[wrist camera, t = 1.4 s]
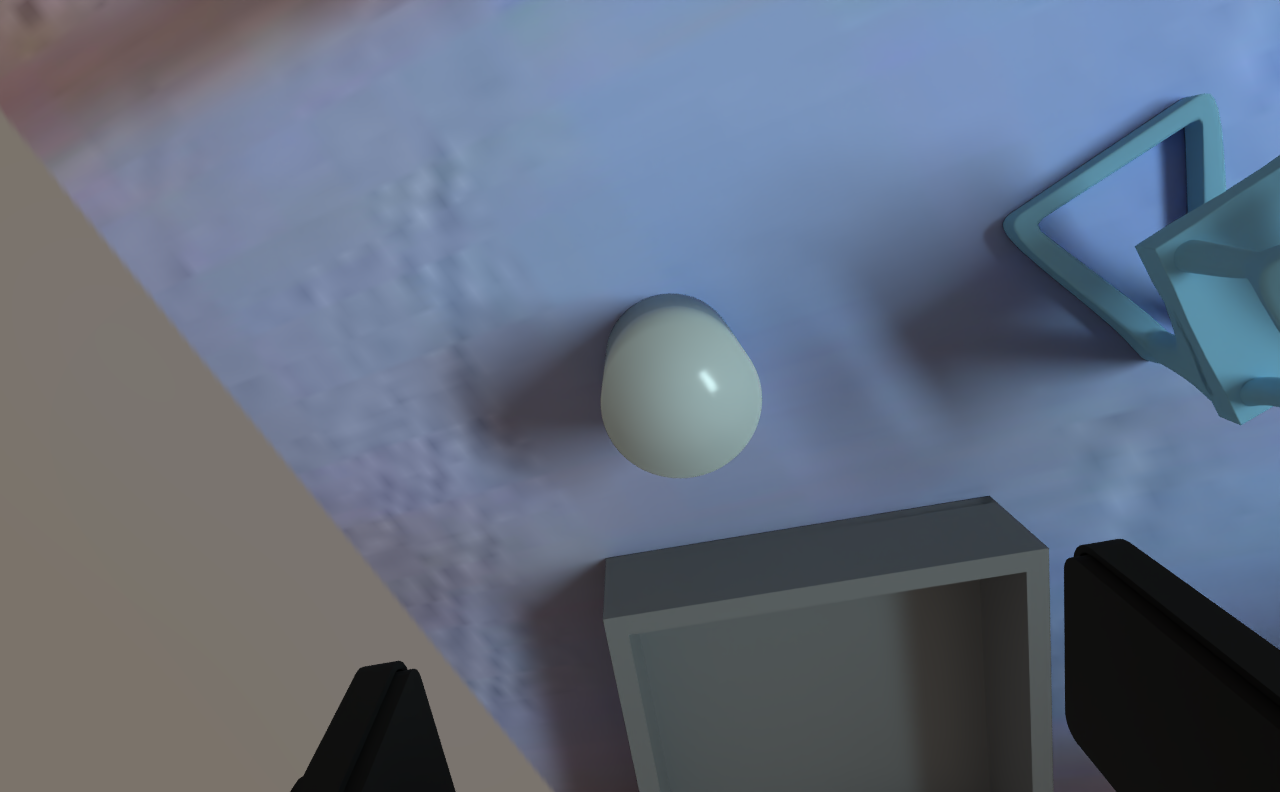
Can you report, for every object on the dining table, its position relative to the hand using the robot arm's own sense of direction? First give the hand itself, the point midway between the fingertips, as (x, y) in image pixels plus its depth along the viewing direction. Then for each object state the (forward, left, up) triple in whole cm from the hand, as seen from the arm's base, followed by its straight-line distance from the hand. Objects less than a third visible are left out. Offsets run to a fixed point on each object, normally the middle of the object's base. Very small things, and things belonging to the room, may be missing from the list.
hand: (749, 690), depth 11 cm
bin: (-4, +17, -19) cm, 26 cm away
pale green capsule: (0, 0, -19) cm, 19 cm away
